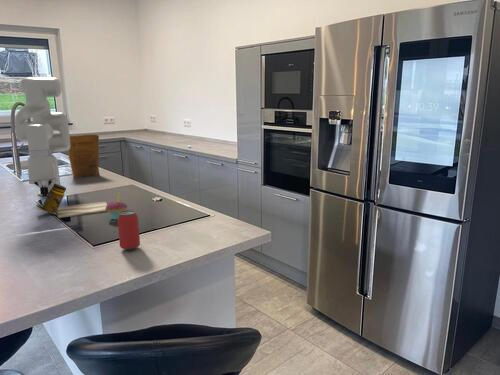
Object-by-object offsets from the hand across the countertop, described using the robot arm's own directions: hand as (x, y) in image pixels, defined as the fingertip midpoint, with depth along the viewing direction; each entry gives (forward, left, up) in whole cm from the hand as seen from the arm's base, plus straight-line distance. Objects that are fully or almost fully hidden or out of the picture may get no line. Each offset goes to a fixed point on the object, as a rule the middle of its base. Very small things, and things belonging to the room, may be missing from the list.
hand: (45, 195), depth 165 cm
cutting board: (0, +15, -8) cm, 17 cm away
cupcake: (+20, +27, -9) cm, 34 cm away
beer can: (+56, +26, -9) cm, 62 cm away
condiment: (0, 0, -7) cm, 7 cm away
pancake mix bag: (-80, +22, -9) cm, 83 cm away
